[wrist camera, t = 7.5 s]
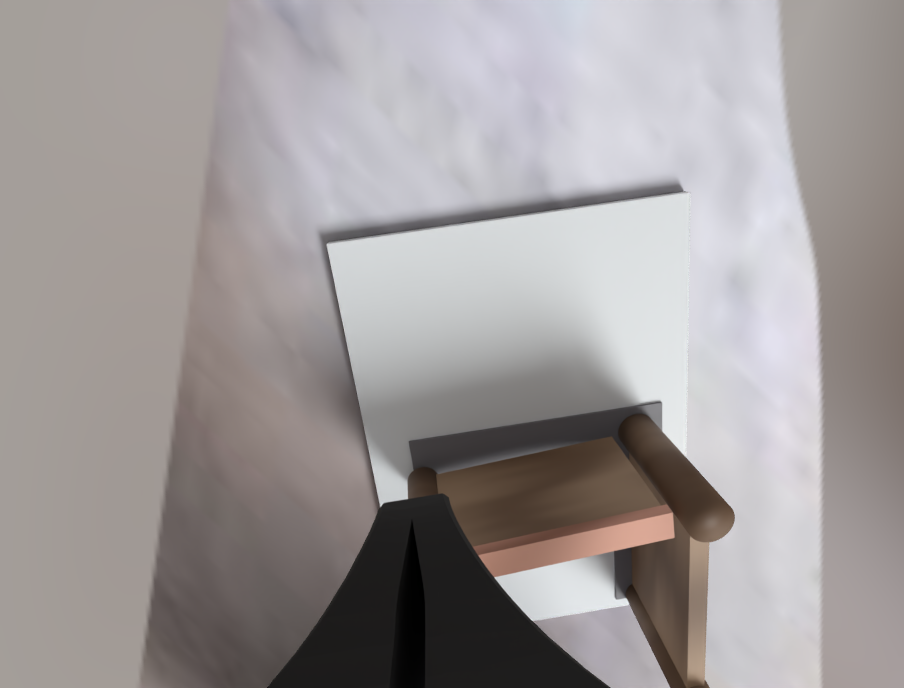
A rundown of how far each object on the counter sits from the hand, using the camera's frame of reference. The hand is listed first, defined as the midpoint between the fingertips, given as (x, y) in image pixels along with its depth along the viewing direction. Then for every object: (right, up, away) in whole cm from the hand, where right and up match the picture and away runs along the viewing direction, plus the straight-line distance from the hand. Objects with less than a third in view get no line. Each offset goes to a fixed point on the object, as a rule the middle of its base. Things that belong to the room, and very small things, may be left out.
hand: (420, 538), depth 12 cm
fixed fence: (+8, -3, +11) cm, 14 cm away
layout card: (+4, 0, +10) cm, 11 cm away
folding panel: (+3, 0, +9) cm, 10 cm away
